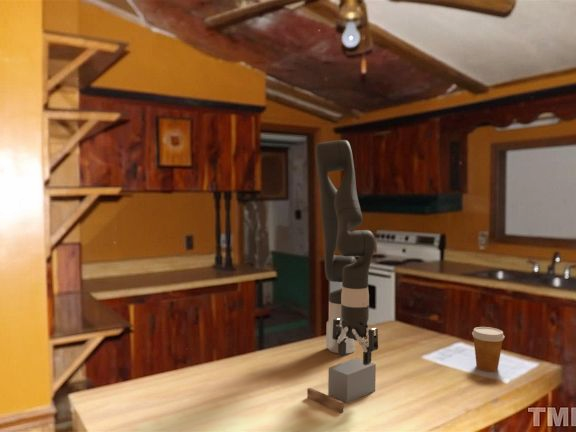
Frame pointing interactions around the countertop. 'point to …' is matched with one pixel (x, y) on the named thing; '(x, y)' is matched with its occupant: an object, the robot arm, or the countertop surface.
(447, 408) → the countertop surface
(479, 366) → the disposable coffee cup
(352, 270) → the robot arm
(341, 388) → the grey rectangular block
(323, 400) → the stopper
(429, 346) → the countertop surface
